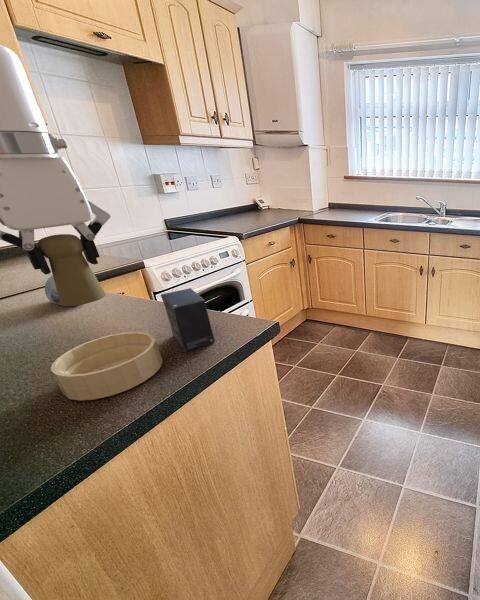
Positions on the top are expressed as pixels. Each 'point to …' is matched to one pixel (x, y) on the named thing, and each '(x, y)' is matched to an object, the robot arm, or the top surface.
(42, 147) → the robot arm
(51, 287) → the light blue rounded lump
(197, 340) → the small box
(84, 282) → the cork
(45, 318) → the top surface
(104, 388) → the bowl
